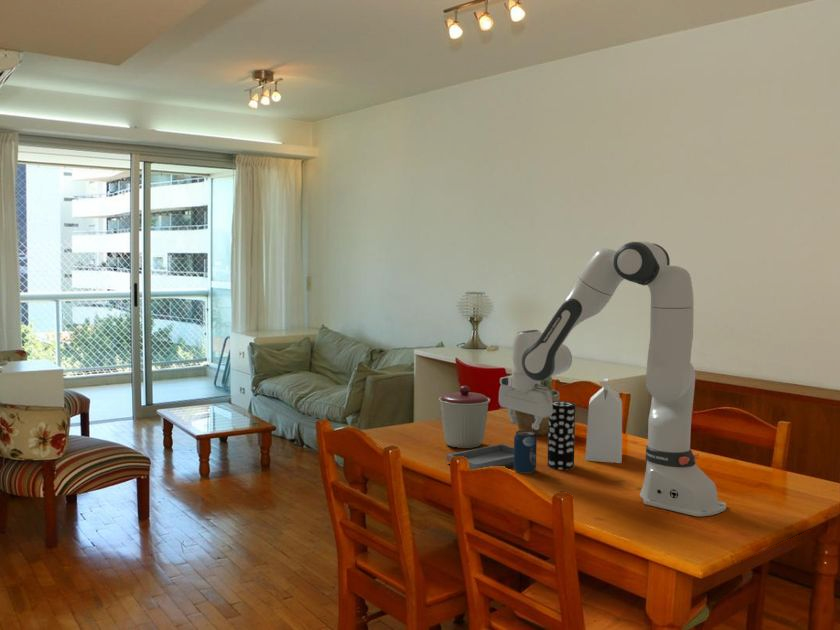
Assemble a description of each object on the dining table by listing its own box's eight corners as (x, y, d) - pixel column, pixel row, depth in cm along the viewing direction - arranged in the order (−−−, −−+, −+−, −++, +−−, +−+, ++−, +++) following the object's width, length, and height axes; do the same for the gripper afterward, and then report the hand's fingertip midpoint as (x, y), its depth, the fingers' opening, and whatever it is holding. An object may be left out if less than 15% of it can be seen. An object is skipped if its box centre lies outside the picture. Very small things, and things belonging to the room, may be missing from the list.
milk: (587, 451, 254) (589, 376, 252) (622, 453, 251) (624, 377, 249) (585, 460, 242) (587, 381, 240) (621, 463, 239) (623, 383, 237)
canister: (461, 436, 274) (462, 379, 272) (500, 445, 261) (501, 386, 259) (427, 444, 261) (428, 385, 259) (466, 454, 248) (466, 392, 246)
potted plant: (562, 438, 271) (564, 371, 269) (512, 438, 271) (513, 370, 269) (554, 427, 289) (555, 364, 287) (507, 426, 290) (508, 363, 288)
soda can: (535, 474, 226) (536, 435, 225) (513, 473, 227) (513, 434, 226) (536, 468, 233) (536, 430, 232) (513, 467, 234) (514, 429, 233)
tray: (531, 461, 240) (531, 452, 240) (475, 474, 226) (475, 464, 225) (501, 452, 251) (501, 443, 251) (446, 463, 237) (446, 454, 237)
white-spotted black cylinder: (573, 470, 230) (575, 407, 229) (546, 468, 232) (548, 405, 231) (573, 463, 239) (575, 402, 237) (547, 461, 240) (549, 400, 239)
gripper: (558, 386, 221) (556, 431, 223) (510, 376, 238) (509, 418, 239) (543, 388, 218) (541, 434, 219) (496, 377, 234) (494, 421, 235)
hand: (524, 426), depth 229 cm, fingers open, 8 cm apart
